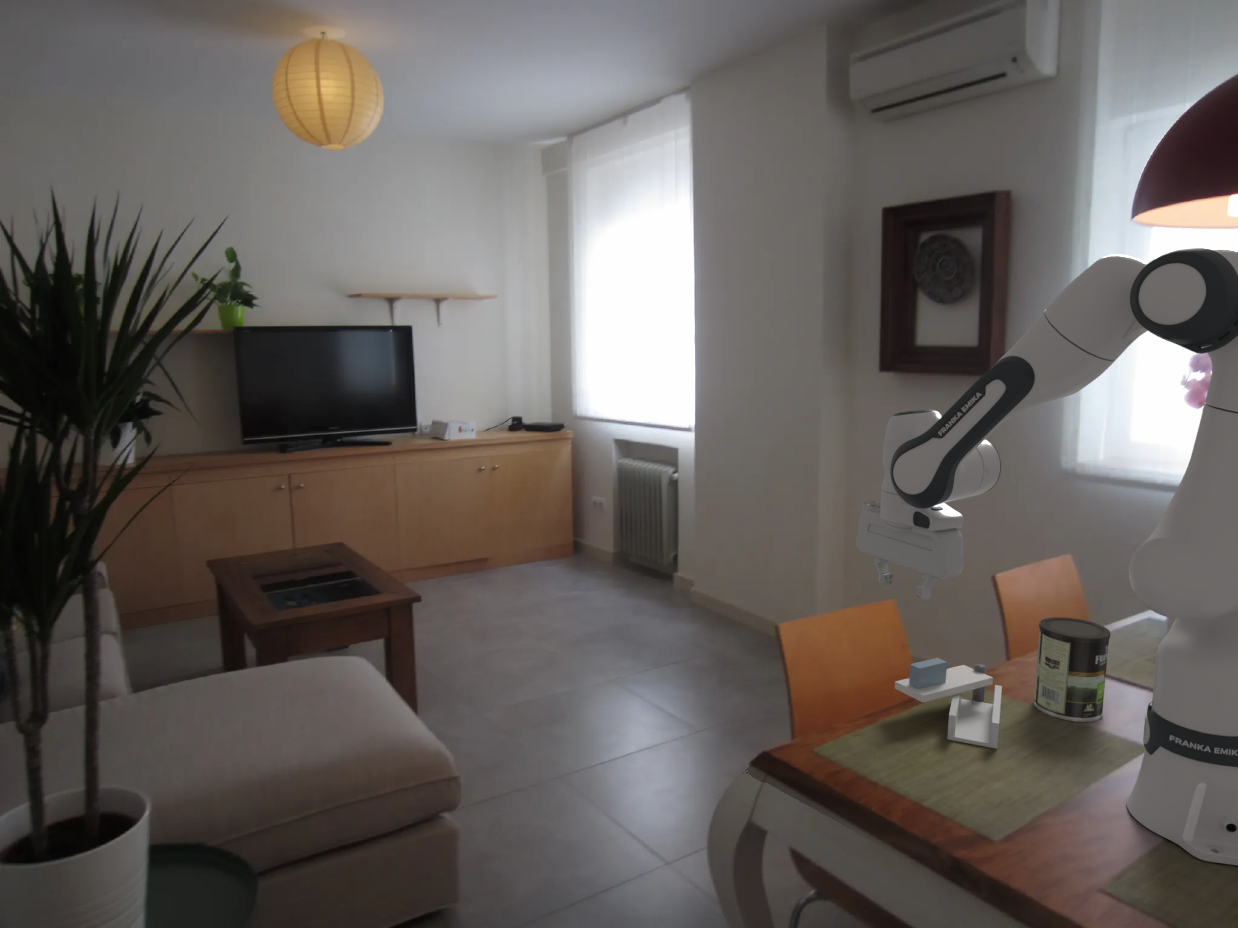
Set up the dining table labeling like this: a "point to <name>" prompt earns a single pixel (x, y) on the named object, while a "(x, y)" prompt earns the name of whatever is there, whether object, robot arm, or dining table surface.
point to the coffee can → (1071, 669)
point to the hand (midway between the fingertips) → (903, 590)
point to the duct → (975, 720)
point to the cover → (943, 680)
